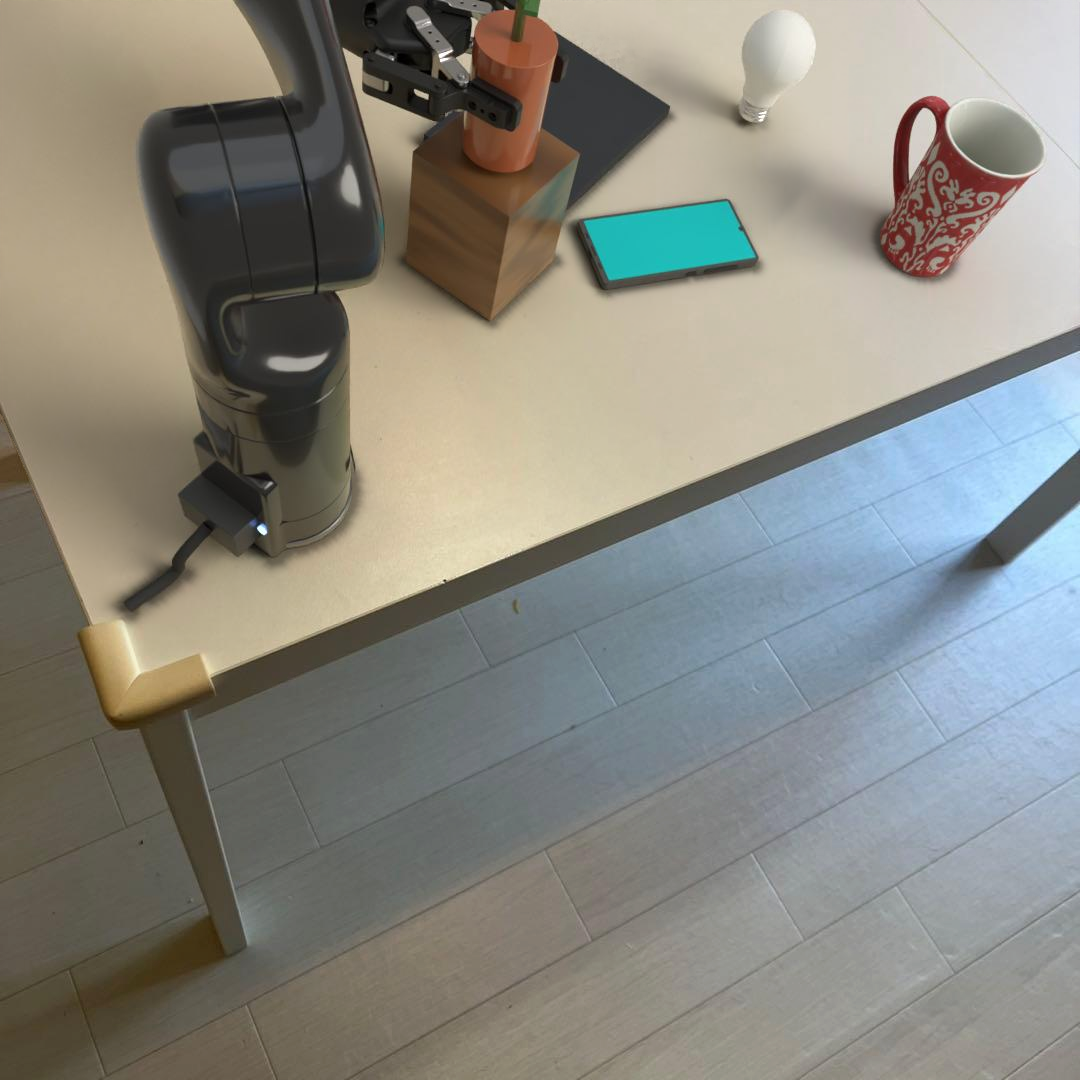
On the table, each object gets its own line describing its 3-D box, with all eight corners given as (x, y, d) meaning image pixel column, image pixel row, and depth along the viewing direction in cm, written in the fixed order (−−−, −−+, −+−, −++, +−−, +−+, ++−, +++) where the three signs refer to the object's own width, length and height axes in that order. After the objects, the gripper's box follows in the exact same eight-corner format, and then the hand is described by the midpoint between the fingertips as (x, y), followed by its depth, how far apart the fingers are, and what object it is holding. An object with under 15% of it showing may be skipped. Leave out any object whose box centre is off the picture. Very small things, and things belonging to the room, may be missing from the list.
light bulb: (779, 150, 99) (826, 52, 89) (713, 132, 98) (753, 32, 89) (784, 103, 102) (829, 4, 92) (720, 86, 102) (759, -15, 92)
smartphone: (577, 219, 89) (729, 198, 93) (575, 226, 90) (726, 204, 94) (605, 284, 87) (760, 260, 91) (603, 291, 87) (757, 266, 91)
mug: (980, 269, 96) (1069, 159, 84) (910, 298, 93) (992, 188, 81) (900, 175, 100) (974, 57, 88) (830, 200, 97) (896, 81, 85)
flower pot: (506, 184, 74) (554, -82, 56) (445, 143, 75) (474, -133, 57) (552, 144, 76) (612, -123, 59) (493, 104, 77) (535, -171, 60)
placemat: (546, 229, 90) (549, 219, 88) (422, 144, 92) (423, 133, 91) (667, 116, 98) (670, 106, 97) (551, 41, 100) (553, 30, 99)
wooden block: (489, 321, 84) (509, 217, 73) (405, 262, 85) (412, 150, 75) (553, 260, 88) (580, 153, 77) (471, 204, 89) (487, 91, 79)
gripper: (269, -20, 65) (495, 105, 63) (396, -120, 71) (603, -8, 70) (277, 79, 71) (481, 195, 70) (392, -21, 78) (581, 83, 76)
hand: (541, 93), depth 70 cm, fingers closed on flower pot, 5 cm apart
